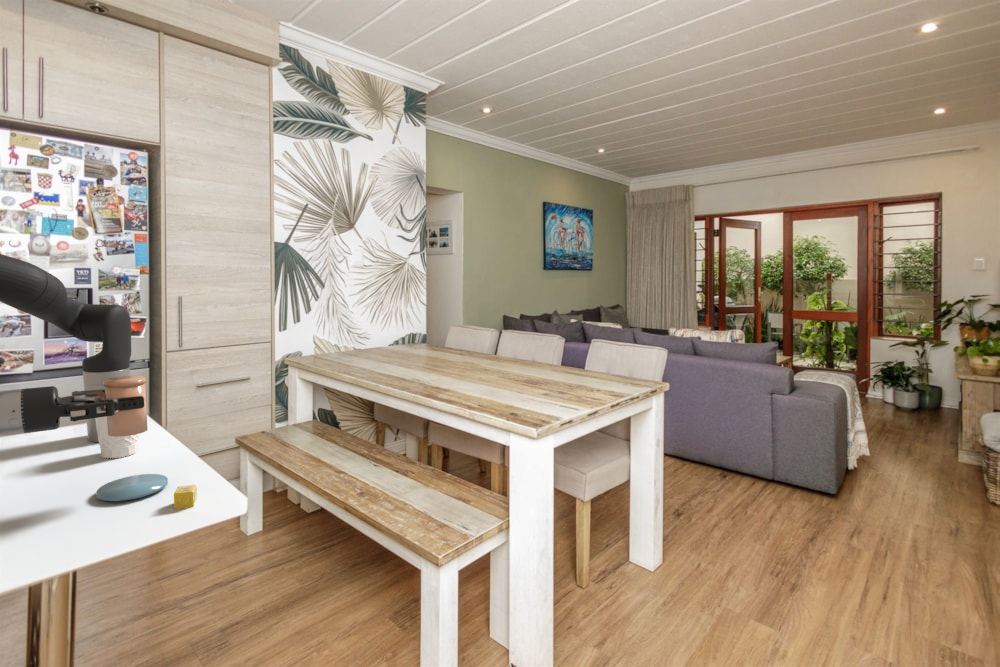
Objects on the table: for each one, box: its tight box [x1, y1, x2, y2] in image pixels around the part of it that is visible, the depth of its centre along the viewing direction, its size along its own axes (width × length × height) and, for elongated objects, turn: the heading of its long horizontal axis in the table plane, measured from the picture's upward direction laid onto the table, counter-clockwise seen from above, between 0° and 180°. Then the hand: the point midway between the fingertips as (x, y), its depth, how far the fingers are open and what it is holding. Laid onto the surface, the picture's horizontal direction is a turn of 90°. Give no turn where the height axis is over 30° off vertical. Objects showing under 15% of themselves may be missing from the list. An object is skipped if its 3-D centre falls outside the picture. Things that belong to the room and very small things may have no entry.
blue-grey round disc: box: [95, 473, 169, 502], centre depth 96 cm, size 11×11×1 cm
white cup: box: [95, 416, 139, 460], centre depth 115 cm, size 8×8×10 cm
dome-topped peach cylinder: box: [103, 375, 149, 437], centre depth 94 cm, size 6×6×10 cm
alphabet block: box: [173, 484, 198, 510], centre depth 91 cm, size 3×3×3 cm
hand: (142, 398), depth 96 cm, fingers closed on dome-topped peach cylinder, 6 cm apart
